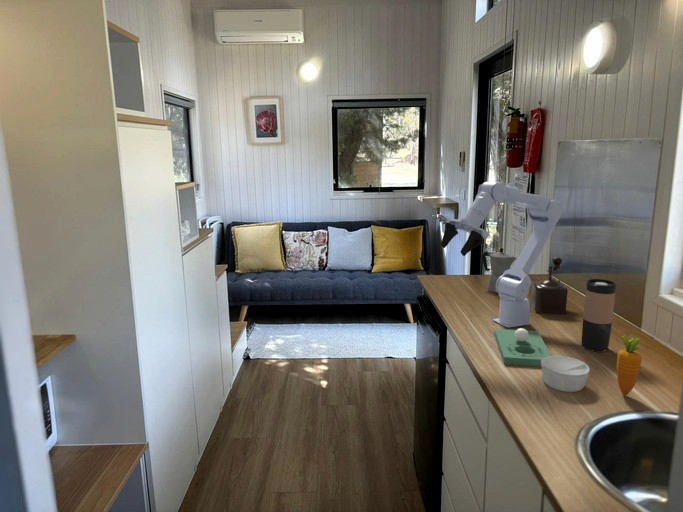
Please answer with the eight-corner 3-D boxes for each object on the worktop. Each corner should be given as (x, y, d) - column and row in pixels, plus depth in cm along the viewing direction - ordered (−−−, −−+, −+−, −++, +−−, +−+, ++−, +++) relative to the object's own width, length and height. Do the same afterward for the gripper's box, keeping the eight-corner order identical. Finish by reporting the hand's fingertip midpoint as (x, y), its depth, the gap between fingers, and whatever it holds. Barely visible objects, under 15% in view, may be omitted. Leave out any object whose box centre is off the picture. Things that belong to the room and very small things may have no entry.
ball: (522, 338, 148) (522, 325, 148) (531, 342, 145) (532, 330, 144) (511, 339, 147) (511, 327, 146) (520, 344, 143) (521, 331, 143)
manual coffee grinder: (568, 314, 175) (573, 265, 171) (535, 313, 177) (539, 264, 173) (558, 301, 190) (562, 256, 186) (528, 300, 192) (531, 255, 188)
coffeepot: (519, 291, 204) (522, 248, 200) (508, 295, 198) (511, 252, 194) (485, 284, 215) (488, 243, 211) (474, 288, 208) (476, 246, 205)
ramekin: (585, 399, 117) (587, 378, 115) (535, 387, 122) (537, 367, 121) (590, 380, 126) (592, 361, 125) (543, 370, 132) (545, 352, 131)
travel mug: (606, 343, 149) (614, 280, 144) (611, 353, 142) (619, 286, 137) (578, 340, 151) (585, 278, 147) (581, 350, 144) (588, 284, 140)
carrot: (608, 391, 120) (615, 333, 117) (627, 390, 120) (634, 332, 117) (621, 401, 115) (628, 341, 112) (641, 400, 116) (649, 340, 112)
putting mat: (494, 334, 157) (494, 328, 156) (537, 337, 154) (537, 331, 154) (503, 363, 136) (504, 357, 135) (553, 367, 133) (554, 360, 133)
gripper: (452, 201, 153) (428, 236, 151) (492, 213, 143) (467, 250, 141) (460, 214, 158) (437, 247, 156) (499, 226, 148) (475, 262, 145)
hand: (452, 250), depth 149 cm, fingers open, 7 cm apart
